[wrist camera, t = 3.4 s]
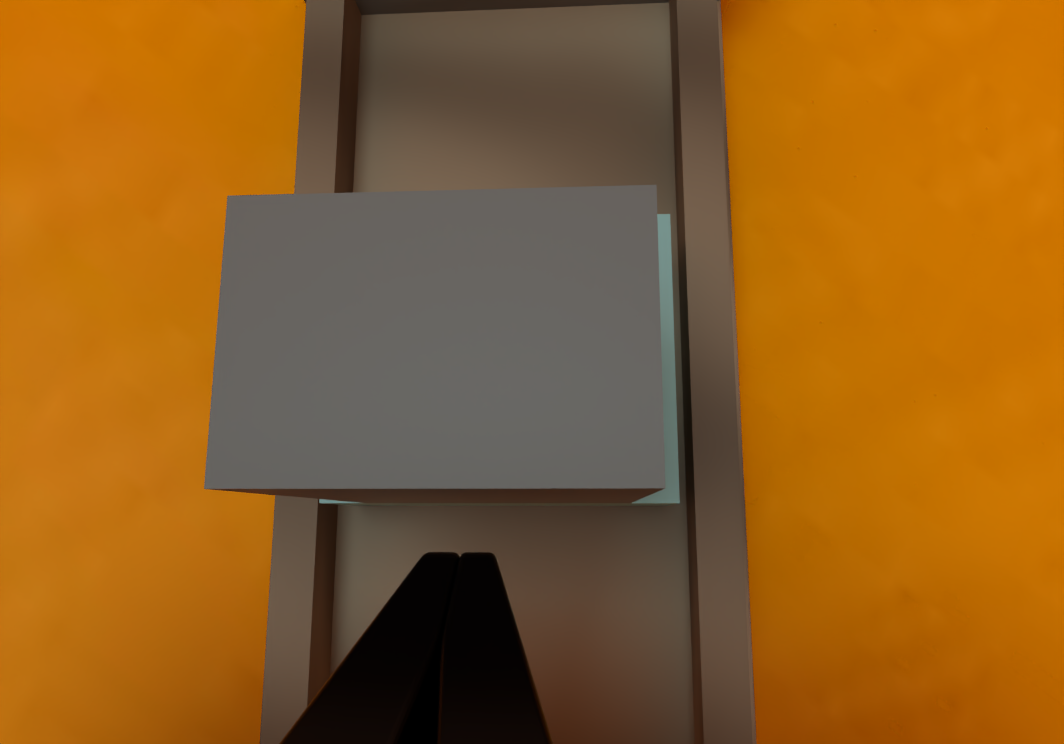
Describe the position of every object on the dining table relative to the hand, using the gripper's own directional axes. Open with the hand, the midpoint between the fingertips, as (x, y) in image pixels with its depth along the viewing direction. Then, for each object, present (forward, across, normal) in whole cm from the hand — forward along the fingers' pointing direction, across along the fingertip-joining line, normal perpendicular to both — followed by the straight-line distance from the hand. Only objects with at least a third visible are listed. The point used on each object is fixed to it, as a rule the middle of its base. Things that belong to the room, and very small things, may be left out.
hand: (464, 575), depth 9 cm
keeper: (+6, 0, +2) cm, 6 cm away
